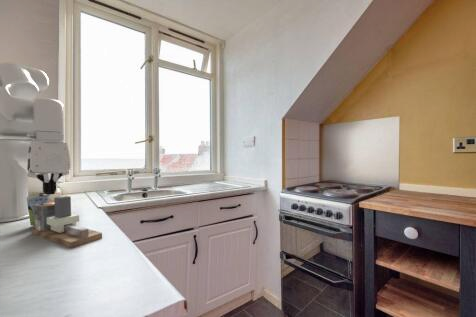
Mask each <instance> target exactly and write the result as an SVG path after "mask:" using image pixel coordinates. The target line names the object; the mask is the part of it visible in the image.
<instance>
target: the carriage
mask: <svg viewBox="0 0 476 317" xmlns="http://www.w3.org/2000/svg"><path fill="white" fill-rule="evenodd" d="M71 197H72V196H70V195H69V196H68V195H62V196H56V197H54V199H53V200H54V201H53V202H54V203H55V216H52V217H47V224H48V225H50V226H51V230H53V231H56V232H59V233H61V232H64V225H66V224H72V225H76V226H77V223H78V222H80V215H79V214H78V213H77V214H76V213H72V204H71V203H72V200H71V199H72V198H71Z"/></svg>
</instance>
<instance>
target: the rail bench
mask: <svg viewBox="0 0 476 317" xmlns="http://www.w3.org/2000/svg"><path fill="white" fill-rule="evenodd" d="M50 202H51V201H50ZM50 202H48V203H50ZM43 204H45V203H42V204H36V205H34V226H33V227H32V228H31V230H30V231H31V232H30V233H31V234H32V235H36V236H37V237H40V238H43V239H44V240H45V239H46V240H48V241H50V242H53V243H57V244H59V245H62V246H65V247H68V248H71V249H73V248H76V247H79V246H82V245H85V244H87V243H88V244H89V243H90V242H94V241H97V240H100V239H102V238H103V232H101V231H97V230H93V229H89V228H86V227H83V226H79V225H77V224H76V225H72V224H66V225H64V232H61V233H59V232H56V231H53V230H51V226H50V225H48V224H47V217H52V216H55V204H54V205H48V206H44V205H43Z"/></svg>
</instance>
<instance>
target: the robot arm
mask: <svg viewBox="0 0 476 317" xmlns="http://www.w3.org/2000/svg"><path fill="white" fill-rule="evenodd" d="M49 82H50V80H49V77H48V76H47V74H46V73H45V72H44V71H43V70H40V69H38V68H35V67H30V66H27V65H24V64H19V63H16V62H12V61H11V62H9V61H7V62H2V63H0V223H8V222H14V221H15V222H16V221H21V220H24V219H28V218H29V212H28V205H27V197H28V194H29V183H28V182H29V180H28V178H35V179H38V180H39V181H40V182H42V192H44V193H45V194H47V195H49V196H50V195H55V194H56V191H57V182H58V181H59V180H60V178H62V177H64V176H67V175H69V174H70V170H71V157H70V156H71V155H70V151H69V146H68V142H65V139H64V135H65V134H64V132H65V131H64V130H65V129H64V128H65V127H64V122H65V120H64V104H63V103H62V102H61V101H60V100H57V99H53V98H47V97H46V98H44V97H38V95H39V94H41V93H43V92H45V91H46V90H48V87H49V84H50V83H49ZM36 97H37V98H36ZM22 163H26V168H27V170H26V169H25V168H24V167H23V166H22V165H20V164H22ZM49 174H50V176H49ZM29 219H30V218H29Z"/></svg>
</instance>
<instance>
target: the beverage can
mask: <svg viewBox="0 0 476 317" xmlns="http://www.w3.org/2000/svg"><path fill="white" fill-rule="evenodd" d="M48 202H51V197H50V195H47V194H45V193H44V192H43V191H40V192H35V193H34V192H33V193H28V197H27V205H28V212H29V223H30V226H33V227H34V205H36V204H42V203H48Z"/></svg>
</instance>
